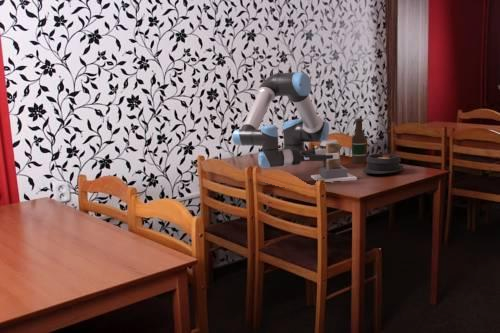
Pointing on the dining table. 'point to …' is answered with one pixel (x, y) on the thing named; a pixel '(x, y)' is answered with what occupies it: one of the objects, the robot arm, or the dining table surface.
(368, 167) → the casserole
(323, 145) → the coffee cup
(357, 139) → the beer bottle
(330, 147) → the walnut slat
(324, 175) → the end cap plate
